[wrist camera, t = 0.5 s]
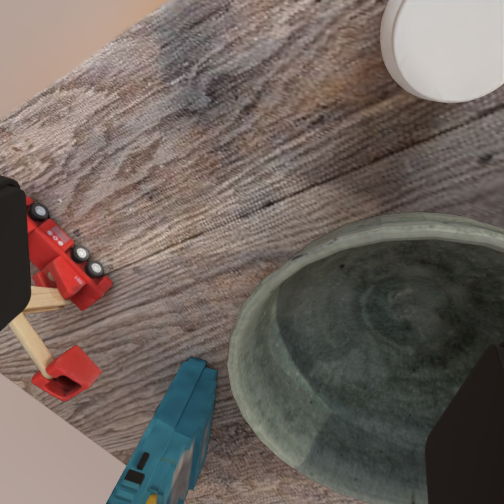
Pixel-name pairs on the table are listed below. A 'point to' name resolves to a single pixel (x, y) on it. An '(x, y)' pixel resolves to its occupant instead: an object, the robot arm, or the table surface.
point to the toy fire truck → (58, 302)
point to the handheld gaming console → (172, 441)
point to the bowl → (368, 347)
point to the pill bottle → (444, 47)
